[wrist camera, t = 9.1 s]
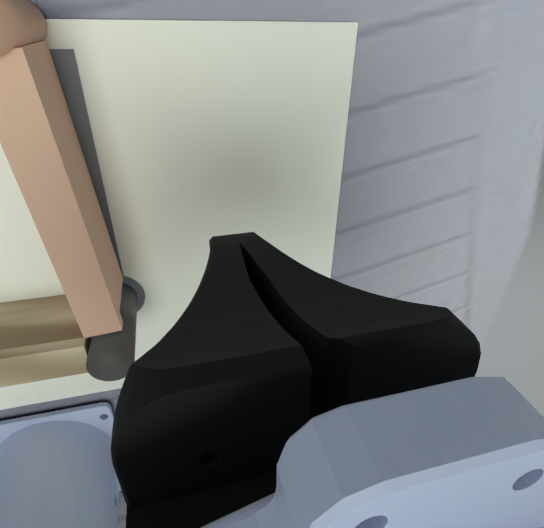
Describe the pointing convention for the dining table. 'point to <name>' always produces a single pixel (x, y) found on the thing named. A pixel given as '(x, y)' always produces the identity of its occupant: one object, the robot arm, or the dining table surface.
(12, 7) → the tan wooden bar
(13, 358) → the hammer
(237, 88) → the card
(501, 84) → the dining table surface
